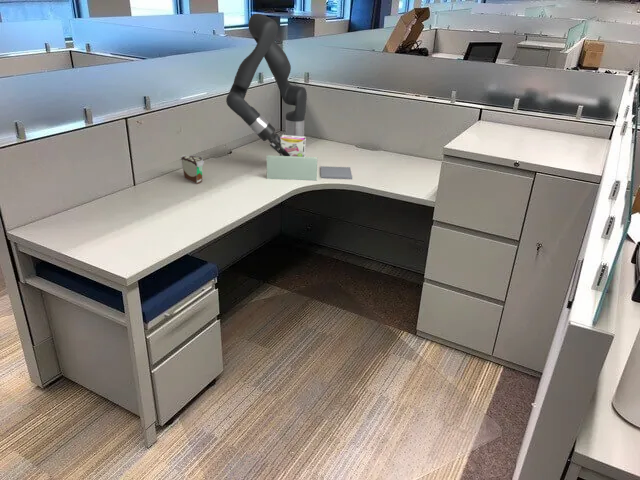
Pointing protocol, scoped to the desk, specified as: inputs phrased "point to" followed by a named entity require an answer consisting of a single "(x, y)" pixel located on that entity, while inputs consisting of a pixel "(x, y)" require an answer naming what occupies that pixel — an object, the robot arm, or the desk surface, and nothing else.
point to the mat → (336, 172)
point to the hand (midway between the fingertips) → (288, 155)
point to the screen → (292, 167)
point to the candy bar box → (293, 145)
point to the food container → (192, 168)
